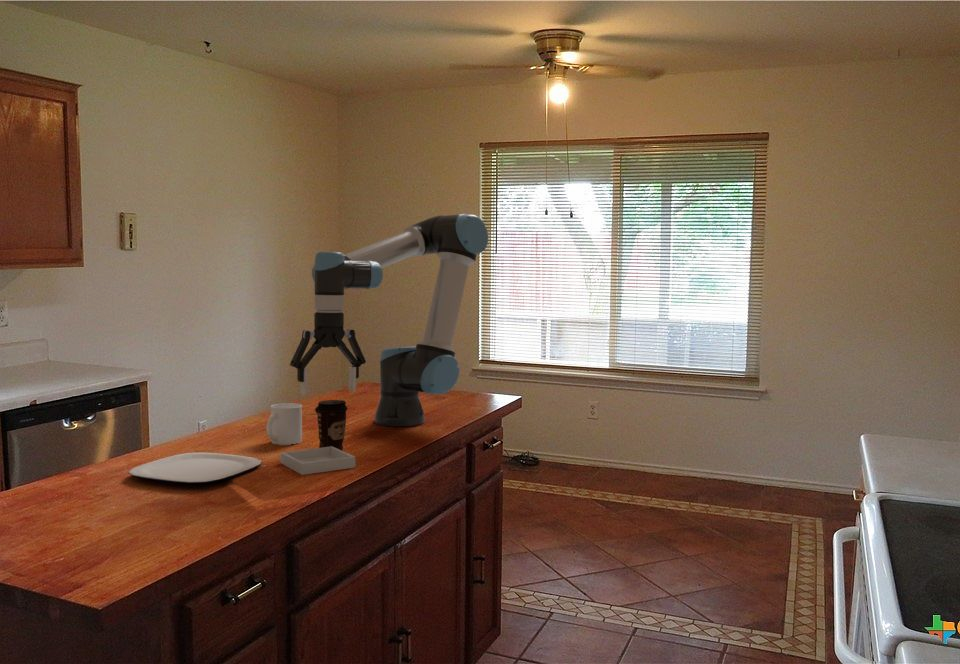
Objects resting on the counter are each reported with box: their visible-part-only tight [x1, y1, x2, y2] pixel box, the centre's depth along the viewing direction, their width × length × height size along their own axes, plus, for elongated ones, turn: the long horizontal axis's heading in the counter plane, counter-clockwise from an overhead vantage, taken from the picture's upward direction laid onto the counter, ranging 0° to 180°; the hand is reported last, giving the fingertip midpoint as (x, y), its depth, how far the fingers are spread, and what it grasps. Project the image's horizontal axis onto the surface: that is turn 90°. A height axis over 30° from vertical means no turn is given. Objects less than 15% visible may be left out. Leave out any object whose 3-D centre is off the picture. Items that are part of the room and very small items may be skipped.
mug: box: [266, 402, 303, 446], centre depth 223 cm, size 12×8×10 cm
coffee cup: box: [314, 399, 348, 451], centre depth 216 cm, size 9×8×13 cm
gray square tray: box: [280, 446, 356, 476], centre depth 201 cm, size 14×14×3 cm
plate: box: [128, 451, 263, 484], centre depth 194 cm, size 25×25×2 cm
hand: (328, 392), depth 215 cm, fingers open, 13 cm apart
